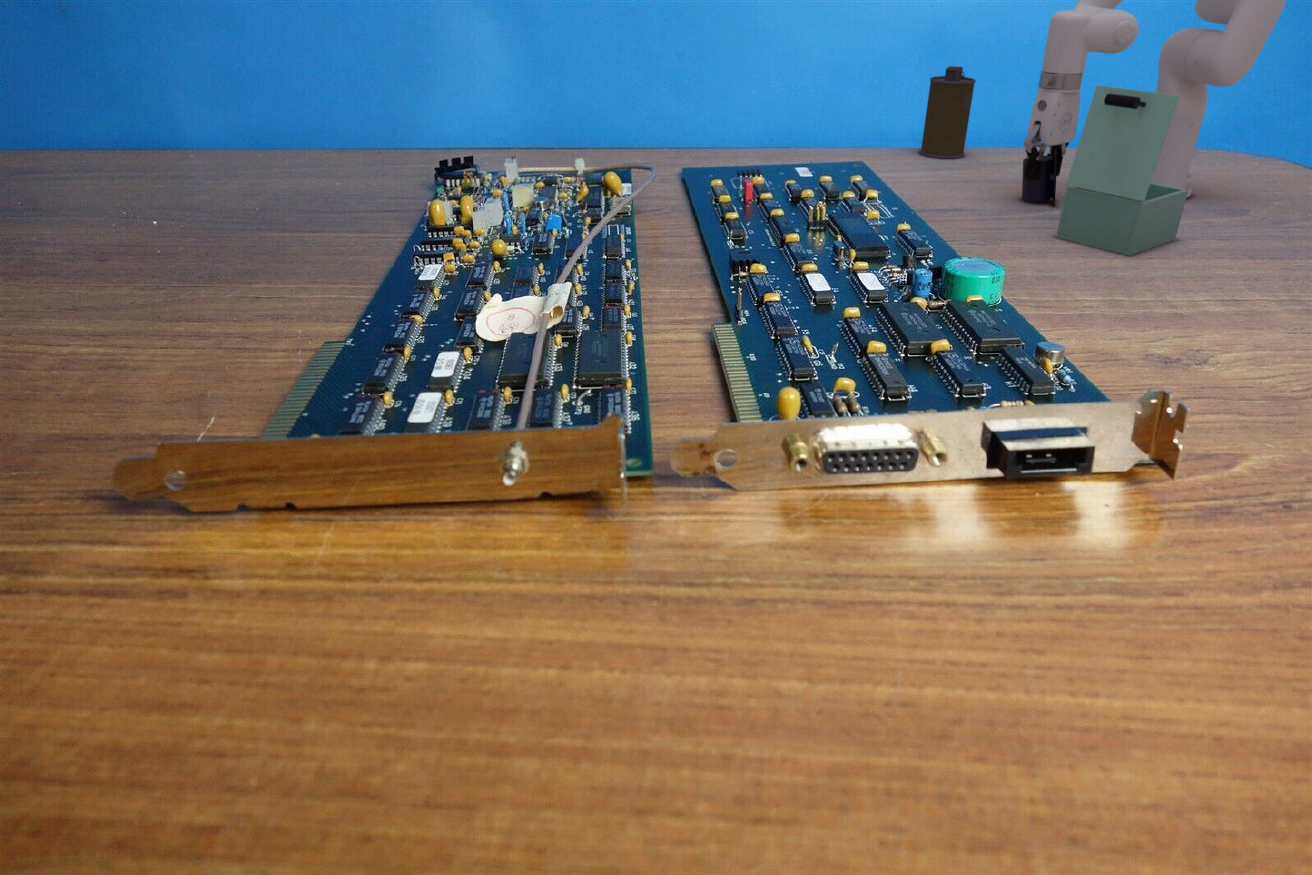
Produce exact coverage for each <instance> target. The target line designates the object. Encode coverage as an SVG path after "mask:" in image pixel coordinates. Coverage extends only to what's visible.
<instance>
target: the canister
mask: <svg viewBox="0 0 1312 875" xmlns="http://www.w3.org/2000/svg"><path fill="white" fill-rule="evenodd" d="M929 82H930V83H929V91H928V97H927V103H926V104H927V105H926V111H925V119H924V125H923V135H922V140H921V148H920V150H919V153H920V155H921V156H924V157H928V158H933V159H941V160H943V159H946V160H948V159H951V160H952V159H960V158H962V157H964V156H965V153H964V152H965V145H966V139H967V133H968V126H969V121H970V114H971V110H972V109H971V107H972V102H973V96H974V89H975V83H976V79H975V78H972V77H969V76H968V77H967V76H966V75H965V72H964V67H963V66H957V65H955V66H954V65H950V66H948V67H946V68H945V75H941V76H940V75H937V76H932V77H930V78H929Z"/></svg>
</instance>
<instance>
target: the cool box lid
mask: <svg viewBox="0 0 1312 875" xmlns="http://www.w3.org/2000/svg"><path fill="white" fill-rule="evenodd" d="M1179 97H1180V96H1178V95H1171V94H1163V93H1156V91H1146V90H1139V89H1130V88H1123V87H1114V86H1106V85H1099V84H1097V85H1096V86H1095V90H1094V93H1093V96H1092V100H1091V103H1090V106H1089V109H1088V112H1087V115H1086V118H1085V122H1084V125H1083V128H1082V132H1081V134H1080V138H1079V142H1078V145H1077V147H1076V151H1075V154H1074V155H1075V156H1074V158H1073V161H1072V165H1071V168H1070V171H1069V175H1068V178H1067V181H1066V186H1069V187H1072V186H1073V187H1078V188H1082V189H1087V190H1092V191H1097V192H1101V193H1106V194H1111V195H1116V196H1120V197H1125V198H1130V199H1135V200H1139V201H1144V200H1145V197H1146V195H1147V192H1148V189H1149V186H1150V183H1151V180H1152V177H1153V174H1154V171H1155V168H1156V165H1157V162H1158V159H1159V156H1160V153H1161V150H1162V147H1163V144H1164V141H1165V138H1166V135H1167V132H1168V129H1169V127H1170V124H1171V121H1172V118H1173V115H1174V112H1175V109H1176V106H1177V103H1178V100H1179Z"/></svg>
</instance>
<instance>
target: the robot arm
mask: <svg viewBox="0 0 1312 875" xmlns="http://www.w3.org/2000/svg"><path fill="white" fill-rule="evenodd" d="M1123 1H1124V0H1079V1H1078V2H1077V3H1076V5H1075V6H1074V8H1073V9H1072V10H1059V11H1056V12H1055V13H1053V15H1052V16H1051V18H1050V22H1049V27H1048V31H1047V38H1046V43H1045V49H1044V54H1043V60H1042V65H1041V71H1040V73H1039V74H1040V75H1039V80H1038V86H1037V94H1036V96H1035V100H1034V103H1033V107H1032V110H1031V113H1030V119H1029V122H1028V123H1029V124H1028V128H1027V134H1026V135H1027V136H1026V138H1024V140H1023V144H1022V145H1023V146H1024V148H1025V153H1026V155H1025V158H1027V163H1026V169H1025V174H1024V178H1025V179H1028V180H1033V181H1039V180H1040V176H1041V171H1042V166H1043V160H1041V159H1042V157H1043V156H1044V155H1045V152H1046V149H1047V147H1049V153H1047V154H1046V155H1048V156H1053V157H1054V148H1057V173H1056V177H1060V174H1061V169H1062V166H1063V159H1064V156H1065V155H1066V152H1067V147H1068V146H1069V145H1070V143H1071V142H1072V141H1073V140H1074V139H1075V137H1076V132H1077V128H1078V120H1079V115H1080V114H1079V113H1080V106H1081V87H1082V82H1083V77H1084V72H1085V67H1086V62H1087V58H1088V53H1101V54H1106V55H1107V54H1108V55H1112V54H1114V55H1115V54H1119V53H1121V52H1124V51H1125V50H1127V49H1128V48H1130V47H1131V46H1132V45H1133V44H1134V42H1135V41H1136V39H1137V37H1138V34H1139V22H1138V21H1137V19H1136V17H1135V16H1134V15H1133V14H1131V13H1130V12H1128V11H1126V10H1122V9H1117V7H1118V6H1119V5H1120V4H1122V3H1123ZM1286 2H1287V0H1195V4H1194V11H1195V12H1194V13H1195V15H1197V17H1198V18H1199V19H1200V20H1203V21H1204V22H1208V23H1211V24H1216V25H1217V24H1218V25H1226V26H1225V28H1224V30H1218V29H1213V28H1203V27H1188V28H1183V29H1179V30H1178V31H1176V32H1174V33H1172V34H1171V35H1170V36H1168V38H1167V40H1165V42H1164V44H1163V45H1162V47H1161V49H1160V53H1159V58H1158V69H1157V70H1158V73H1157V85H1156V91H1155V93H1163V94H1171V95H1178V96H1180V97H1179V100H1178V103H1177V106H1176V109H1175V112H1174V115H1173V118H1172V121H1171V124H1170V127H1169V129H1168V132H1167V135H1166V138H1165V141H1164V144H1163V147H1162V150H1161V153H1160V156H1159V159H1158V162H1157V165H1156V168H1155V171H1154V174H1153V177H1152V180H1151V183H1154V184H1160V185H1165V186H1170V187H1175V188H1180V189H1185V190H1189V191H1188V194H1187V198H1190V197H1191V196H1192V193H1193V190H1192V189H1191V187H1189V186H1187V185H1186V183H1187V180H1188V179H1190V178H1192V177H1193V175H1194V172H1193V170H1192V169H1191V165H1192V161H1193V158H1194V154H1195V151H1196V147H1197V143H1198V140H1199V136H1200V132H1201V128H1202V124H1203V121H1204V117H1205V114H1206V112H1207V106H1208V91H1207V86H1212V87H1219V88H1225V87H1231V86H1234V85H1235V84H1237V83H1238V82H1240V81H1241V80H1242V79H1244V78H1245V76H1246V75H1247V74H1248V73H1249V72H1250V70H1251V69H1252V67H1253V66H1254V64H1255V62H1256V60H1258V57H1259V56H1260V53H1261V52H1262V50H1263V48H1264V46H1265V44H1266V42H1267V41H1268V39H1269V37H1270V35H1271V34H1272V32H1273V30H1274V28H1275V26H1276V24H1277V22H1278V21H1279V19H1280V17H1281V15H1282V13H1283V11H1284V9H1285V5H1286ZM1038 148H1039V150H1038Z"/></svg>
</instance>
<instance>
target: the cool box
mask: <svg viewBox="0 0 1312 875" xmlns="http://www.w3.org/2000/svg"><path fill="white" fill-rule="evenodd" d="M1188 191H1189V190H1185V189H1180V188H1175V187H1170V186H1165V185H1160V184H1154V183H1150V186H1149V189H1148V192H1147V195H1146V197H1145V200H1144V201H1139V200H1135V199H1130V198H1125V197H1120V196H1116V195H1111V194H1106V193H1101V192H1097V191H1092V190H1087V189H1082V188H1078V187H1073V186H1069V187H1066V190H1065V194H1064V200H1063V203H1062V209H1061V213H1060V217H1059V223H1058V227H1057V233H1056V238H1057V239H1061V240H1065V241H1069V242H1073V243H1077V244H1081V245H1085V246H1089V247H1092V248H1098V249H1101V250H1105V251H1108V252H1112V253H1116V254H1119V255H1120V254H1121V255H1123V256H1128V257H1130V256H1133V255H1136V254H1139V253H1142V252H1144V251H1147V250H1150V249H1153V248H1157V247H1159V246H1162V245H1164V244H1167V243H1170V242H1173V241H1175V240H1176V237H1177V234H1178V231H1179V227H1180V223H1181V219H1182V216H1183V212H1184V208H1185V205H1186V201H1187V198H1188V197H1187V194H1188Z"/></svg>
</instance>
